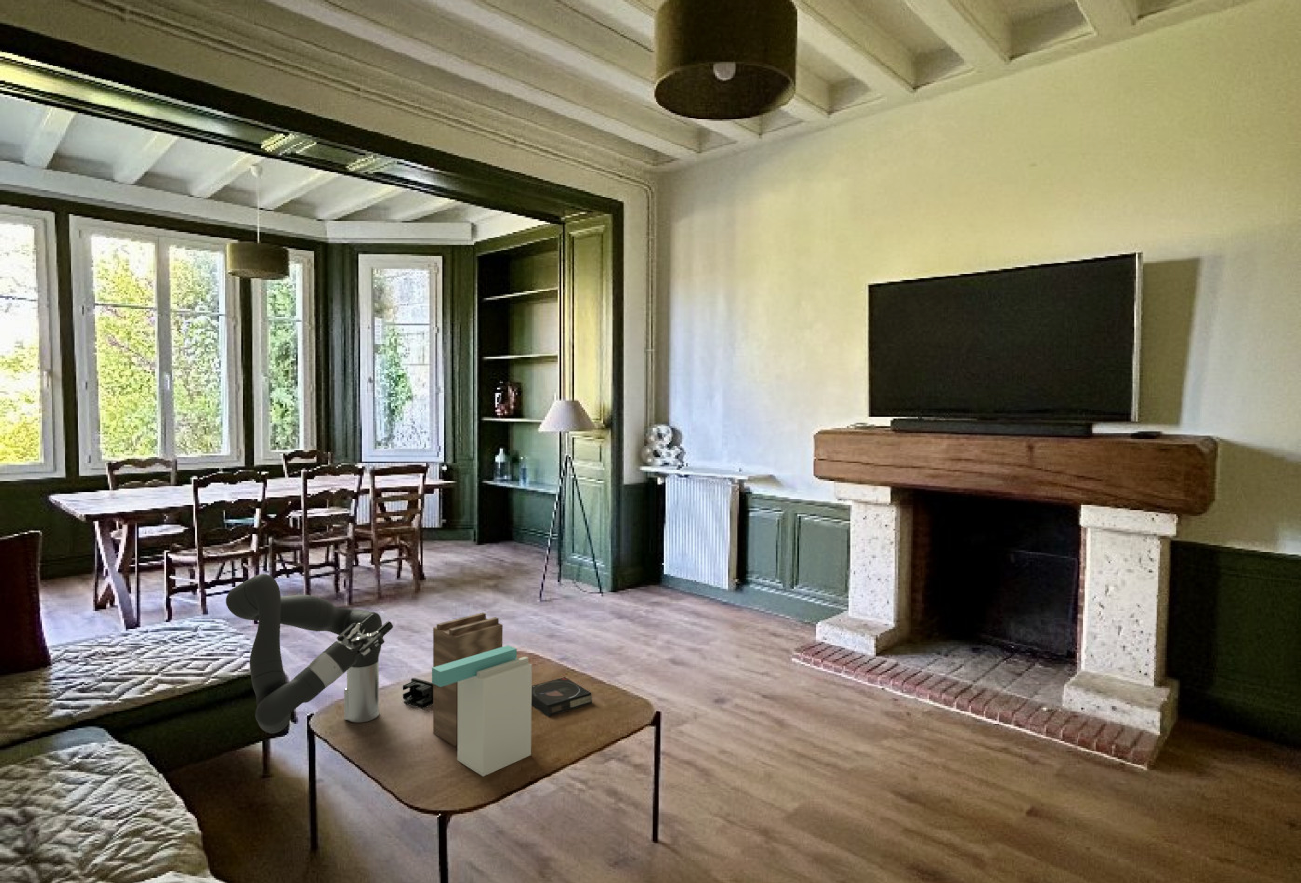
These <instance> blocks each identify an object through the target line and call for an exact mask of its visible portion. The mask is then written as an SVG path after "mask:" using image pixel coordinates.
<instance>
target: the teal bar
mask: <svg viewBox="0 0 1301 883" xmlns="http://www.w3.org/2000/svg"><path fill="white" fill-rule="evenodd" d="M517 650H518V649H517V648H516V647H513V646H512V645H511V646H510V645H508V644H507V645H504V646H502V647H500V648H497V649H494V650H490V651H487V652H484V653H480V654H477V655H473V656H470V657H467V658H463V659H460V660H457V661H453V662H450V663H446V664H443V665H440V666H436V667H433V666H432V667H431V683H433V684H435V685H437V686H439V687H443V686H446V685H449V684H452V683H455V682H458V681H461V680H464V679H468V678H471V677H474V676H477V672H478V671H481V670H484V669H487V668H490V667H493V666H497V665H500V664H503V663H506V662H509V661H512V660H516V659H518V658H517V655H518V654H517V653H518V652H517Z"/></svg>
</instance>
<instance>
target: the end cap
mask: <svg viewBox="0 0 1301 883" xmlns="http://www.w3.org/2000/svg"><path fill="white" fill-rule="evenodd" d="M407 689H409V690H408V691H406V692H403V693H402V699H403V703H404V704H405V703H406V704H405V705H410V706H413V707H415V708H419V709H422V710H423V709H427V707H430V706H433V683H432V681H431V682H430V681H426V680H423V679H420V678H416V677H412V678H411V679H410V682H408V683H405V684H403V685H402V691H405V690H407Z"/></svg>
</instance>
